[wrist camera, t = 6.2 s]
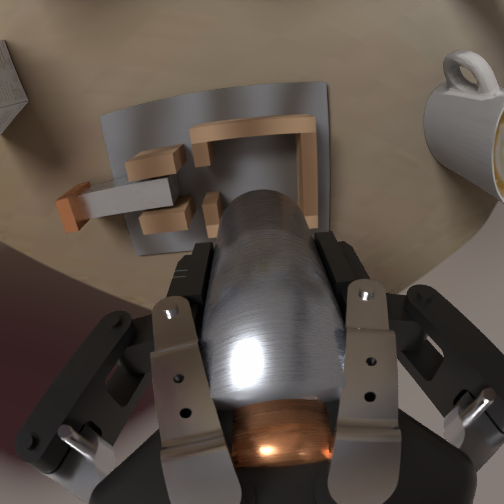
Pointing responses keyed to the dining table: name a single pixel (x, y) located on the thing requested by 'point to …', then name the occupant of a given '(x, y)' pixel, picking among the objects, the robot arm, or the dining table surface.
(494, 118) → the coffee mug
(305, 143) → the dock
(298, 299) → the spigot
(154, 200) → the pin
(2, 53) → the light bulb box
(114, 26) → the dining table surface
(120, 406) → the robot arm
